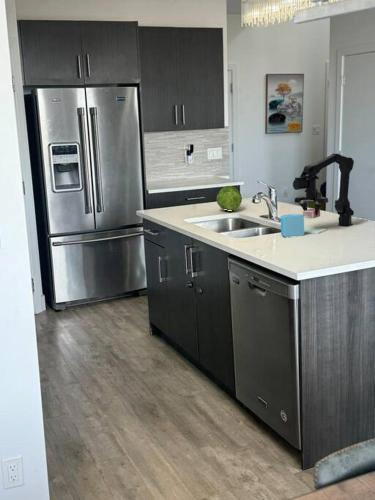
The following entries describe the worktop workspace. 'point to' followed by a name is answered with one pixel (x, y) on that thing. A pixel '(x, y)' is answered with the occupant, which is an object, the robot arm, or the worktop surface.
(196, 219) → the worktop surface
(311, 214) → the card deck
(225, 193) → the lettuce
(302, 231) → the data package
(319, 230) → the mat
